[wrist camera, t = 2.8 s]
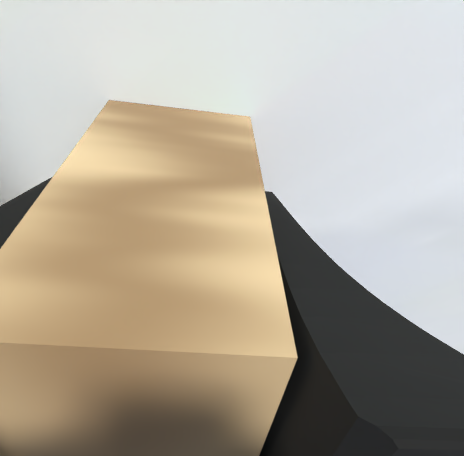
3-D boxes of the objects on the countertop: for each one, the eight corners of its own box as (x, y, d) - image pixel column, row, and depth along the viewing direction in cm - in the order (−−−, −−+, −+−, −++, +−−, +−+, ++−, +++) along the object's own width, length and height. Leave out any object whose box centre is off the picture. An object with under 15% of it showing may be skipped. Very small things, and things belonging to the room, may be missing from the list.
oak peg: (249, 116, 11) (298, 358, 4) (232, 227, 13) (246, 489, 7) (108, 100, 10) (-65, 339, 4) (116, 216, 13) (13, 485, 6)
